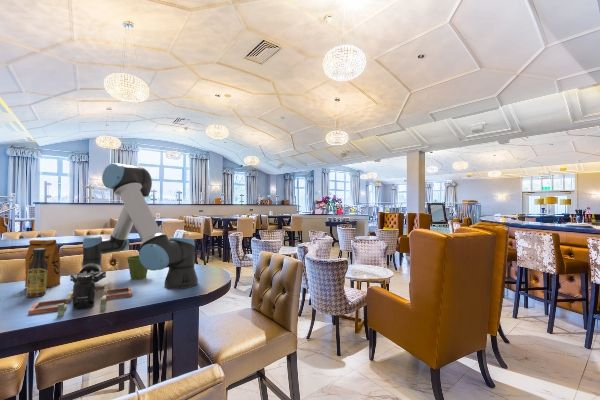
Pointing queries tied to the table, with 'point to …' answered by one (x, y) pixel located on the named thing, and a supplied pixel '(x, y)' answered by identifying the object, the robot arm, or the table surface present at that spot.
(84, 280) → the supplement bottle
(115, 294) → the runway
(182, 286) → the robot arm
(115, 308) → the table surface
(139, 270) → the plant pot
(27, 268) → the coffee package
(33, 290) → the sauce bottle
